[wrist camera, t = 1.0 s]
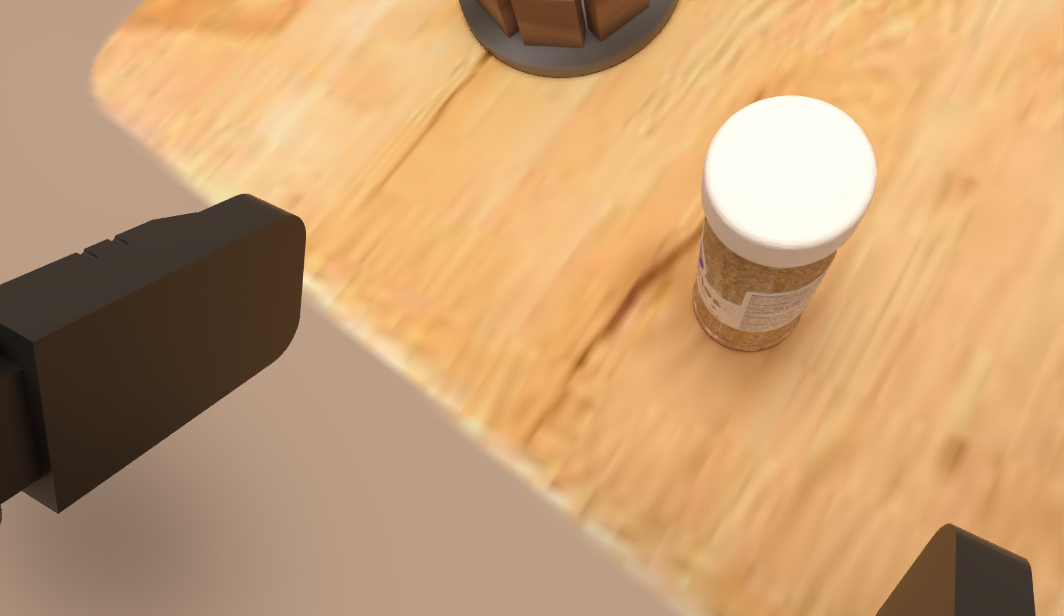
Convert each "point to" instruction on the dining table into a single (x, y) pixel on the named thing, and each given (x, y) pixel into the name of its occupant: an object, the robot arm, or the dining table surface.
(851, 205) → the sprinkles bottle
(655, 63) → the dining table surface
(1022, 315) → the dining table surface
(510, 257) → the dining table surface
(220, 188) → the dining table surface
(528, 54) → the castellated collar
